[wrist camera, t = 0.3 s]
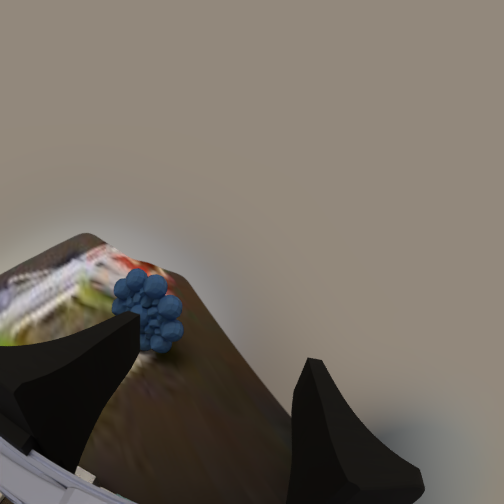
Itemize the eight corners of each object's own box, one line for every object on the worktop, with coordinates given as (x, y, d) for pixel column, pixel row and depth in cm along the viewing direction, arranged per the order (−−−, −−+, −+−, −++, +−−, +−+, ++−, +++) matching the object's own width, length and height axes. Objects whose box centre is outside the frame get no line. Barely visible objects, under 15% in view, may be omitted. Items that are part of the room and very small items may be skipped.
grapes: (194, 356, 38) (213, 282, 34) (162, 382, 33) (174, 304, 28) (134, 313, 42) (143, 241, 38) (101, 330, 36) (102, 253, 32)
